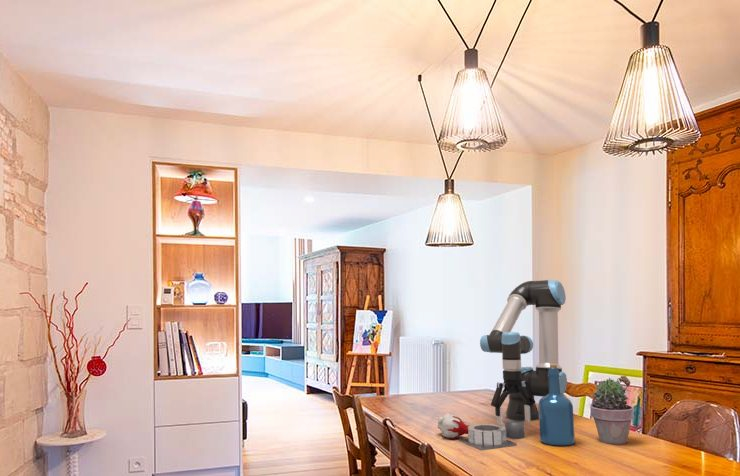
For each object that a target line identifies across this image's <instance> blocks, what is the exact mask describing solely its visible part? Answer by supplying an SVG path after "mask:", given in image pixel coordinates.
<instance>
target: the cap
mask: <svg viewBox="0 0 740 476" xmlns="http://www.w3.org/2000/svg"><path fill="white" fill-rule="evenodd" d="M504 427H505V428H506V439H512V440H522V439H525V437H526V436H525V420H515V419H508V420H505V421H504Z"/></svg>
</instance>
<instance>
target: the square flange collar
mask: <svg viewBox="0 0 740 476" xmlns="http://www.w3.org/2000/svg"><path fill="white" fill-rule="evenodd" d="M467 435H468V437H463V438H458V441H459V442H461V443H463V444H465V445H468V446H470V447H472V448H475V449H478V450H479V451H485V450H494V449H500V448H507V447H515V446H517V445H518V444H517V442H514V441H511V440H509V439H507V437H506V428H505V426H504V425H500V424H493V423H477V424H476V423H475V424H471V425H469V426H468V434H467Z"/></svg>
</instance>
